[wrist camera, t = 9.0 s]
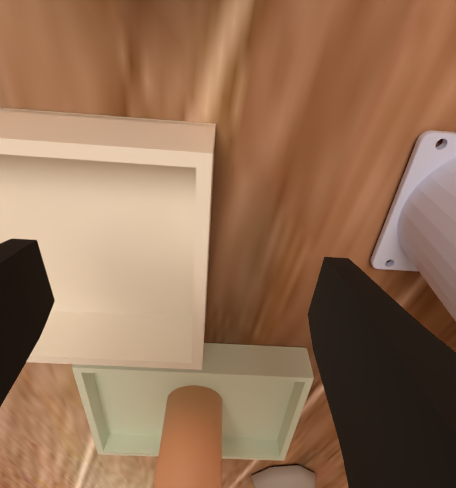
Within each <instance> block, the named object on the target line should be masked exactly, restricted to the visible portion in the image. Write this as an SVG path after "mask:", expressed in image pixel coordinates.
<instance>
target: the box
mask: <svg viewBox="0 0 456 488" xmlns="http://www.w3.org/2000/svg"><path fill="white" fill-rule="evenodd" d="M215 131H216V124H212V123H199V122H186V121H173V120H159V119H146V118H133V117H119V116H106V115H93V114H79V113H66V112H53V111H40V110H26V109H13V108H0V243H2V242H5V241H7V240H9V239H29V240H37V242H38V245H39V249H40V252H41V256H42V259H43V262H44V266H45V269H46V273H47V276H48V279H49V283H50V286H51V289H52V293H53V296H54V300H55V302H54V304H53V307H52V309H51V312H50V315H49V317H48V320H47V322H46V325H45V327H44V329H43V332H42V334H41V336H40V338H39V340H38V342H37V344H36V345H35V347H34V349H33V351H32V353H31V354H30V356H29V358H28V360H27V361H26V362H37V363H59V364H82V365H104V366H127V367H150V368H172V369H195V370H202V364H203V349H204V335H205V321H206V303H207V284H208V265H209V246H210V227H211V207H212V188H213V169H214V150H215Z"/></svg>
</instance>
